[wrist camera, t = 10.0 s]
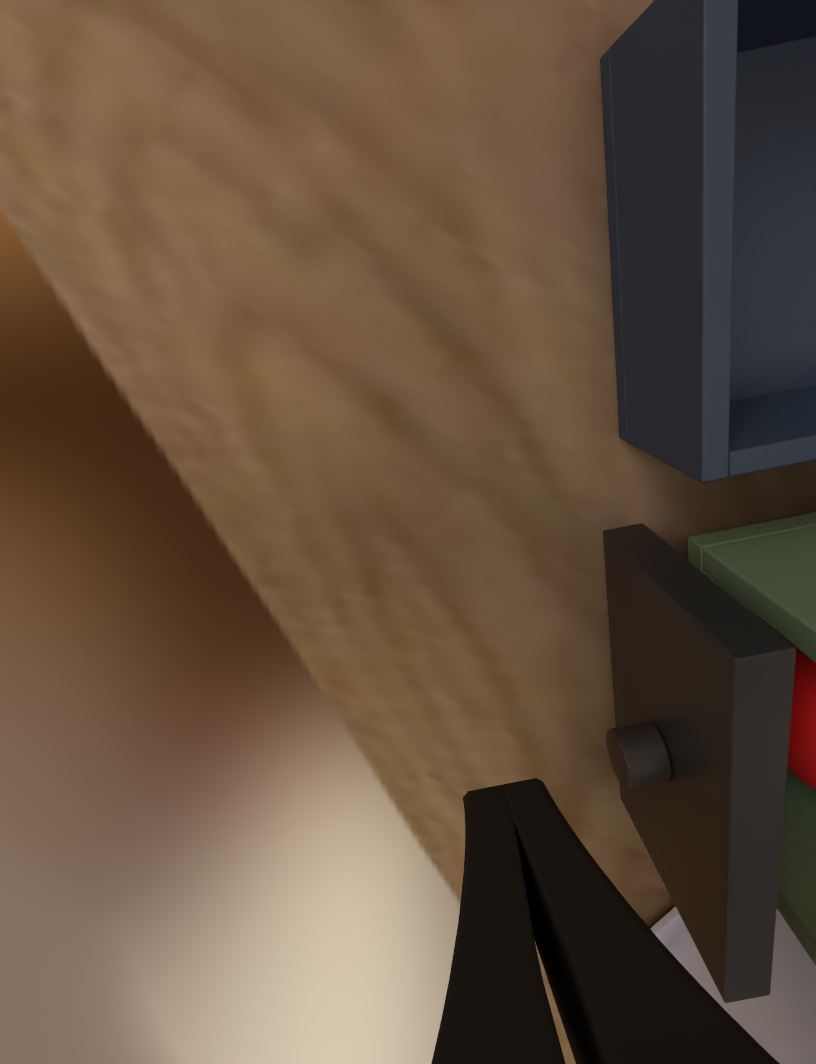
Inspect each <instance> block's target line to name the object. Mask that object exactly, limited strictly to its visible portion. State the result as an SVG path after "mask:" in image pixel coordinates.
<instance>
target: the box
mask: <svg viewBox="0 0 816 1064" xmlns="http://www.w3.org/2000/svg"><path fill="white" fill-rule="evenodd" d="M600 61H601V81H602V100H603V120H604V139H605V159H606V178H607V198H608V217H609V237H610V256H611V276H612V295H613V315H614V334H615V354H616V373H617V393H618V412H619V432H620V438H622V439H623V440H625V441H627V442H628V443H630V444H632V445H634V446H636V447H637V448H639V449H641V450H643V451H645V452H647V453H648V454H650V455H652V456H654V457H656V458H658V459H660V460H661V461H663V462H665V463H667V464H669V465H671V466H672V467H674V468H676V469H678V470H680V471H682V472H684V473H685V474H687V475H689V476H691V477H693V478H695V479H696V480H698V481H700V482H702V483H704V482H709V481H714V480H719V479H724V478H728V476H729V477H732V476H737V475H742V474H747V473H752V472H757V471H762V470H767V469H772V468H777V467H783V466H788V465H793V464H798V463H803V462H808V461H813V460H816V0H654V2H653V3H652V4H651V5H650V6H649V7H648V8H647V9H646V10H645V11H644V12H643V13H642V14H641V15H640V16H639V17H638V18H637V20H636V21H635V22H634V23H633V24H632V25H631V26H630V27H629V28H628V29H627V30H626V31H625V32H624V33H623V34H622V35H621V36H620V37H619V39H618V40H617V41H616V42H615V43H614V44H613V45H612V46H611V47H610V49H609V50H608V51H607V52H606V53H605V54H604V55H603V56H602V57H601V60H600Z"/></svg>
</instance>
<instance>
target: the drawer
mask: <svg viewBox="0 0 816 1064" xmlns="http://www.w3.org/2000/svg"><path fill="white" fill-rule="evenodd" d="M603 538H604V553H605V568H606V583H607V598H608V613H609V628H610V643H611V658H612V673H613V689H614V704H615V719H616V728H612V729H609V730H608V731H607V747H608V752H609V756H610V760H611V763H612V766H613V769H614V771H615V774H616V776H617V778H618V780H619V782H620V794H621V799H622V801H623V803H624V805H625V807H626V809H627V811H628V813H629V815H630V817H631V819H632V821H633V823H634V825H635V827H636V829H637V831H638V833H639V835H640V837H641V839H642V841H643V843H644V845H645V847H646V849H647V851H648V853H649V855H650V857H651V859H652V861H653V863H654V865H655V867H656V869H657V870H658V872H659V874H660V876H661V878H662V880H663V882H664V884H665V886H666V888H667V890H668V892H669V894H670V896H671V898H672V900H673V902H674V904H675V906H676V908H677V910H678V912H679V914H680V916H681V918H682V920H683V922H684V924H685V926H686V928H687V930H688V932H689V934H690V936H691V938H692V939H693V941H694V943H695V945H696V947H697V949H698V951H699V953H700V955H701V957H702V959H703V961H704V963H705V965H706V967H707V969H708V971H709V973H710V975H711V977H712V979H713V981H714V983H715V985H716V987H717V989H718V991H719V993H720V995H721V997H722V999H723V1001H724V1002H725V1003H730V1002H735V1001H741V1000H746V999H751V998H757V997H762V996H767V995H770V989H771V976H772V963H773V949H774V936H775V923H776V910H777V909H778V911H779V912H780V914H781V915H782V917H783V918H784V920H785V921H786V923H787V924H788V926H789V927H790V929H791V930H792V931H793V933H794V934H795V936H796V937H797V939H798V940H799V942H800V943H801V945H802V946H803V948H804V949H805V951H806V952H807V954H808V955H809V957H810V958H811V960H812V961H813V963H814V964H816V790H815V789H813V788H812V787H810V786H809V785H807V784H806V783H805V782H803V781H802V780H800V779H799V778H798V777H797V776H796V775H794V774H793V773H792V772H791V771H790V770H789V769H788V768H787V766H788V752H789V739H790V726H791V713H792V700H793V687H794V674H795V661H796V648H795V647H797V648H798V649H799V650H800V651H802V652H803V653H804V654H805V655H807V656H808V657H809V658H810V659H812V660H813V661H814V662H815V663H816V512H812V513H806V514H801V515H796V516H791V517H786V518H781V519H776V520H771V521H766V522H761V523H756V524H751V525H746V526H741V527H736V528H731V529H726V530H721V531H715V532H710V533H705V534H700V535H695V536H690V537H688V560H687V559H686V558H684V557H683V556H682V555H681V554H679V553H678V552H677V551H676V550H674V549H673V548H672V547H671V546H670V545H668V544H667V543H666V542H665V541H663V540H662V539H661V538H660V537H658V536H657V535H656V534H655V533H654V532H652V531H651V530H650V529H649V528H647V527H646V526H645V525H644V524H636V525H631V526H626V527H621V528H616V529H611V530H606V531H603ZM789 642H790V643H789ZM791 643H792V644H793V645H794V646H795V647H794V646H793V645H792V644H791Z"/></svg>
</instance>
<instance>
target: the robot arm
mask: <svg viewBox="0 0 816 1064" xmlns="http://www.w3.org/2000/svg"><path fill="white" fill-rule="evenodd" d="M463 801H464V809H465V831H466V835H465V861H464V875H463V885H462V895H461V905H460V914H459V922H458V929H457V935H456V941H455V948H454V954H453V961H452V966H451V973H450V979H449V984H448V989H447V995H446V1000H445V1005H444V1010H443V1015H442V1020H441V1024H440V1029H439V1033H438V1038H437V1042H436V1046H435V1051H434V1055H433V1060H432V1064H565V1061H564V1057H563V1053H562V1050H561V1046H560V1042H559V1039H558V1035H557V1031H556V1027H555V1024H554V1020H553V1016H552V1013H551V1009H550V1005H549V1002H548V998H547V994H546V991H545V987H544V983H543V979H542V974H541V970H540V965H539V960H538V956H537V951H536V946H535V942H536V945H537V948H538V951H539V954H540V957H541V960H542V963H543V966H544V969H545V972H546V975H547V978H548V981H549V984H550V987H551V990H552V993H553V996H554V999H555V1002H556V1005H557V1008H558V1011H559V1014H560V1017H561V1020H562V1023H563V1026H564V1029H565V1032H566V1035H567V1038H568V1041H569V1044H570V1047H571V1049H572V1052H573V1055H574V1058H575V1061H576V1064H816V964H814V963H813V961H812V960H811V958H810V957H809V955H808V954H807V952H806V951H805V949H804V948H803V946H802V945H801V943H800V942H799V940H798V939H797V937H796V936H795V934H794V933H793V931H792V930H791V929H790V927H789V926H788V924H787V923H786V921H785V920H784V918H783V917H782V915H781V914H780V912H779V911H778V909H777V910H776V923H775V936H774V949H773V963H772V976H771V989H770V995H767V996H762V997H757V998H751V999H746V1000H741V1001H735V1002H730V1003H725V1002H724V1001H723V999H722V997H721V995H720V993H719V991H718V989H717V987H716V985H715V983H714V981H713V979H712V977H711V975H710V973H709V971H708V969H707V967H706V965H705V963H704V961H703V959H702V957H701V955H700V953H699V951H698V949H697V947H696V945H695V943H694V941H693V939H692V938H691V936H690V934H689V932H688V930H687V928H686V926H685V924H684V922H683V920H682V918H681V916H680V914H679V912H678V910H677V908H676V906H675V907H674V908H673V909H672V910H671V911H669V912H668V913H667V914H666V915H665V916H664V917H663V918H661V919H660V920H659V921H658V922H657V923H656V924H655V925H654V926H652V927H651V928H649V927H648V926H647V925H646V924H645V922H644V921H643V920H642V919H641V918H640V917H639V915H638V914H637V913H636V912H635V911H634V909H633V908H632V907H631V906H630V905H629V903H628V902H627V901H626V900H625V898H624V897H623V896H622V895H621V894H620V892H619V891H618V890H617V888H616V887H615V886H614V885H613V883H612V882H611V881H610V879H609V878H608V877H607V876H606V874H605V873H604V872H603V871H602V869H601V868H600V867H599V865H598V864H597V863H596V862H595V860H594V859H593V858H592V856H591V855H590V854H589V852H588V851H587V849H586V848H585V847H584V845H583V844H582V843H581V841H580V840H579V838H578V837H577V835H576V834H575V833H574V831H573V830H572V828H571V827H570V825H569V824H568V822H567V821H566V819H565V818H564V816H563V815H562V813H561V812H560V810H559V809H558V807H557V805H556V804H555V802H554V800H553V799H552V797H551V795H550V794H549V792H548V790H547V788H546V787H545V785H544V783H543V782H542V781H540V780H539V779H537V778H535V779H529V780H524V781H519V782H514V783H509V784H504V785H499V786H493V787H488V788H483V789H478V790H473V791H468V792H467V794H466V795H465V796H464V797H463ZM534 939H535V940H534Z"/></svg>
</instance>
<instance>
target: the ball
mask: <svg viewBox="0 0 816 1064" xmlns="http://www.w3.org/2000/svg"><path fill="white" fill-rule="evenodd" d="M789 643H790V642H789ZM791 644H792V643H791ZM792 645H793V644H792ZM793 646H794V645H793ZM794 647H795V646H794ZM795 648H796V661H795V674H794V687H793V700H792V713H791V726H790V739H789V752H788V766H787V768H788V769H789V770H790V771H791V772H792V773H793V774H794V775H796V776H797V777H798V778H799V779H800V780H802V781H803V782H805V783H806V784H807V785H809V786H810V787H812V788H813V789H815V790H816V663H815V662H814V661H813V660H812V659H810V658H809V657H808V656H807V655H805V654H804V653H803V652H802V651H800V650H799V649H798V648H797V647H795Z"/></svg>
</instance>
